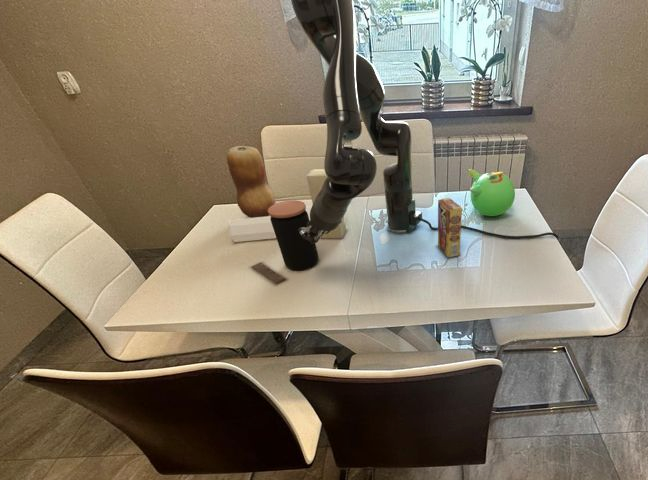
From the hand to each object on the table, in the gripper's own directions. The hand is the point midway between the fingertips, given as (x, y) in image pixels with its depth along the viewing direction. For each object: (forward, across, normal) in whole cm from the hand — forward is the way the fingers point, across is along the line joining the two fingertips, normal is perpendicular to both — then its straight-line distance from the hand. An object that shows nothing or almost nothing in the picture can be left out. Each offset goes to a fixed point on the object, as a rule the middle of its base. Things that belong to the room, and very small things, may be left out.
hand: (312, 240), depth 106 cm
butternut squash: (+46, -10, -31) cm, 56 cm away
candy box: (-6, -36, +22) cm, 43 cm away
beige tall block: (+22, -19, -6) cm, 30 cm away
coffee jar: (+15, 0, 0) cm, 15 cm away
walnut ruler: (+17, +10, -2) cm, 20 cm away
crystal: (+35, -2, -19) cm, 39 cm away
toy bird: (-1, -67, +17) cm, 69 cm away
